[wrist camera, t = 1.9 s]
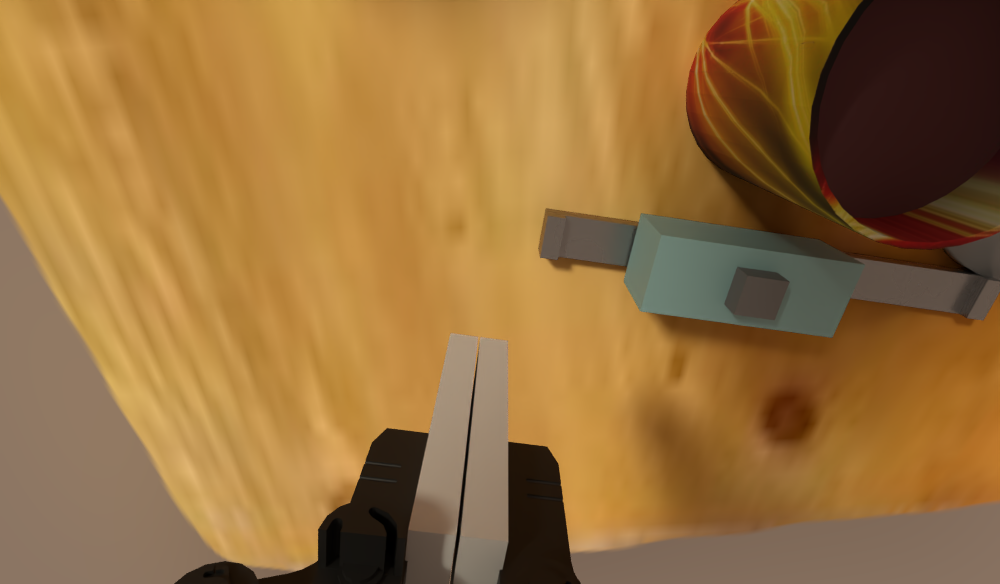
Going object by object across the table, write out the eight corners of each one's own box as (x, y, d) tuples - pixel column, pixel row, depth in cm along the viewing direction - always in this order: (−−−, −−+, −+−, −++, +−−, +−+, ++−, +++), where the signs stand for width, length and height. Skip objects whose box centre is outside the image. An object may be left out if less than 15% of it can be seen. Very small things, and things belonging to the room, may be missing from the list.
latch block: (641, 213, 28) (668, 242, 23) (818, 239, 28) (882, 274, 24) (623, 281, 29) (645, 322, 25) (792, 304, 30) (846, 349, 25)
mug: (885, -158, 23) (1246, -375, 12) (876, 155, 28) (1117, 211, 17) (664, -91, 24) (801, -231, 13) (695, 198, 29) (811, 278, 18)
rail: (545, 208, 29) (547, 215, 28) (981, 272, 30) (1005, 282, 29) (538, 248, 30) (539, 257, 29) (960, 308, 31) (983, 320, 30)
